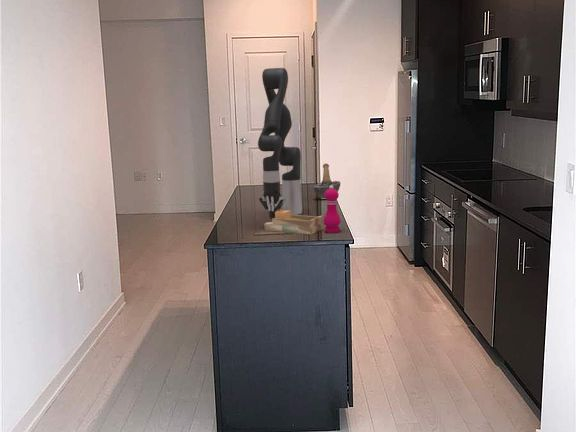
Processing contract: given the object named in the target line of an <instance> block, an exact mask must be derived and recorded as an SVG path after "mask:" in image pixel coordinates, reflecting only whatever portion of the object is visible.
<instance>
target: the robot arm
mask: <svg viewBox="0 0 576 432" xmlns="http://www.w3.org/2000/svg"><path fill="white" fill-rule="evenodd" d="M261 76H262V77H261V78H262V85H263V88H264V91H265V94H266V98H267V103H268V106H267V108H266V110H265V112H264V113H265V114H264V121H263V128H262V130H261V133H260V135H259V137H258V140H257V147H258V150H260V151H261V152H273V154H272V155H270V156H266V157H264V158H263V160H262V172H263V173H262V185H263V186H262V187H263V189H262V190H263V194H262V195H263V196H262V197H260V198H258V200H259V202H260V204H261V205H262V206H263V208H264V209H265V210H268V216H269V219H270V220H272V218H275V212H276V211H279V210H281V208H282V210H289V211H290V213H291V215H301V214H302V213H303V199H302V186H301V185H302V183H301V180H302V179H301V178H302V177H301V174H302V172H301V171H302V169H301V164H302V163H301V161H302V160H301V159H302V158H301V157H302V153H301V149H300V147H298V146H290V147H289V146H288V147H286V146H285V141H286V138H287V136H288V134H289V132H290V131H291V129H292V125H293V123H292V122H293V121H292V117H291V112H290V110H289V108H288V106H286V104H285V103H284V102H285V98H286V93H287V89H288V84H289V74H288V71H287V69H286V68H284V67H276V68H275V67H272V68H265V69H263V71H262V75H261ZM275 90H277V92H276V91H275ZM280 166H283V167H287V166H288V167H292V168H291V170H289V171H287V172H284V173H283V174H281V175H280ZM281 179H282V180H281ZM281 181H282V182H281ZM281 185H282V186H281ZM281 187H282V195H281Z"/></svg>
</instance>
